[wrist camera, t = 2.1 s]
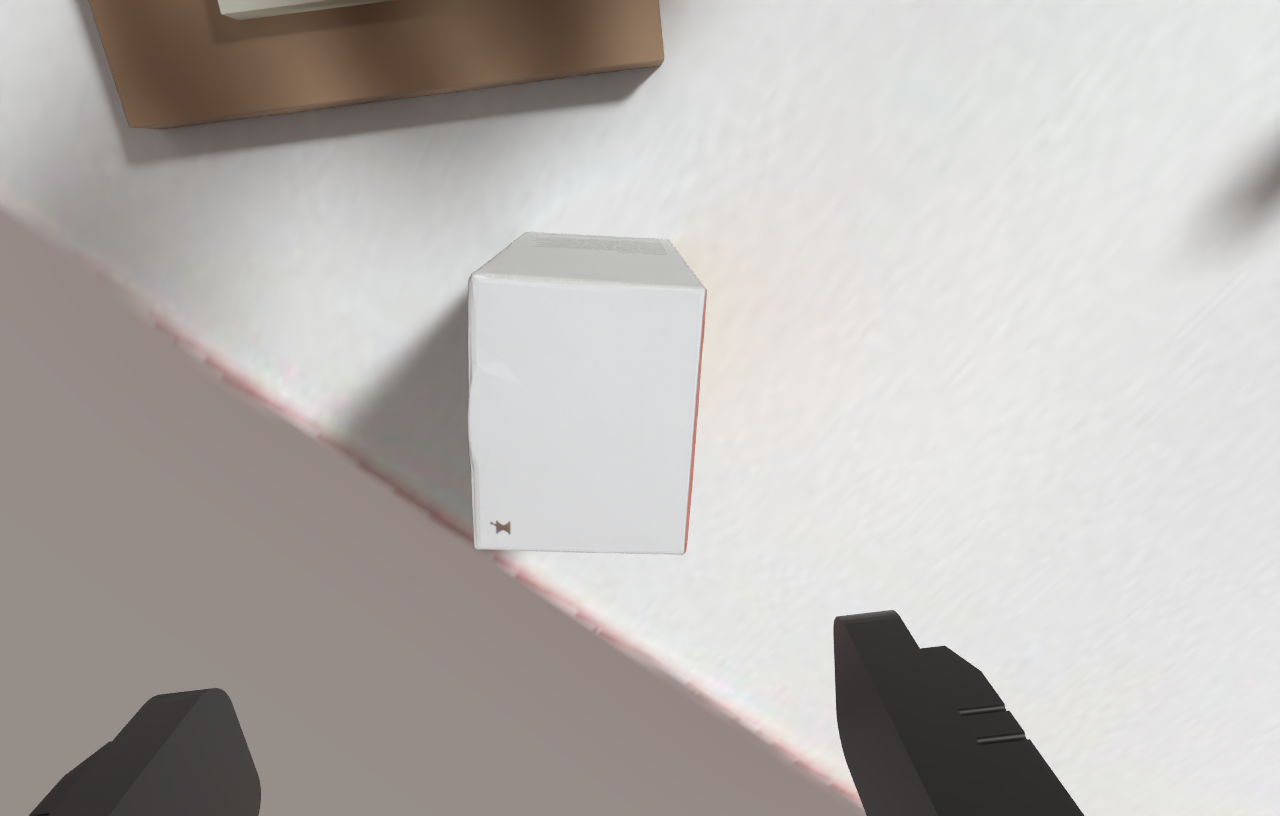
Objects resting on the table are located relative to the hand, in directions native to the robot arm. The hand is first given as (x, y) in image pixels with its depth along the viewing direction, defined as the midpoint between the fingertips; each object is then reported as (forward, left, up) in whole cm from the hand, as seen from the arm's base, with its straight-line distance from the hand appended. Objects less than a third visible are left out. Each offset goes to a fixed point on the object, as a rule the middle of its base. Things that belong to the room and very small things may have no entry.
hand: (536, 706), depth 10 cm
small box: (0, 0, -24) cm, 24 cm away
